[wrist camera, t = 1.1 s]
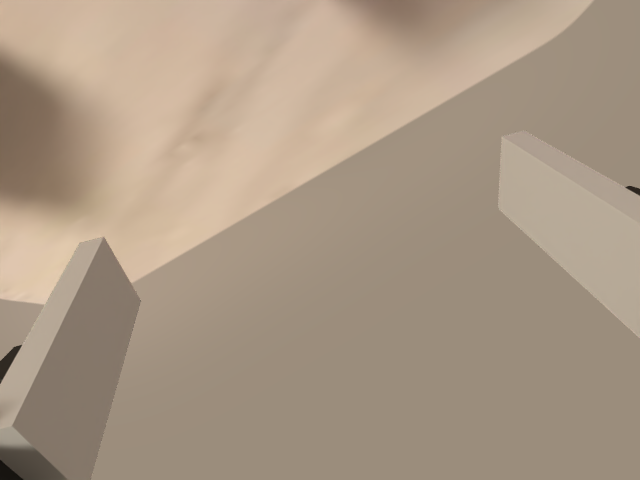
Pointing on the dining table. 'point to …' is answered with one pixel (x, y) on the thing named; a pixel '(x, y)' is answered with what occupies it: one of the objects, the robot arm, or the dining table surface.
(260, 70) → the dining table surface
